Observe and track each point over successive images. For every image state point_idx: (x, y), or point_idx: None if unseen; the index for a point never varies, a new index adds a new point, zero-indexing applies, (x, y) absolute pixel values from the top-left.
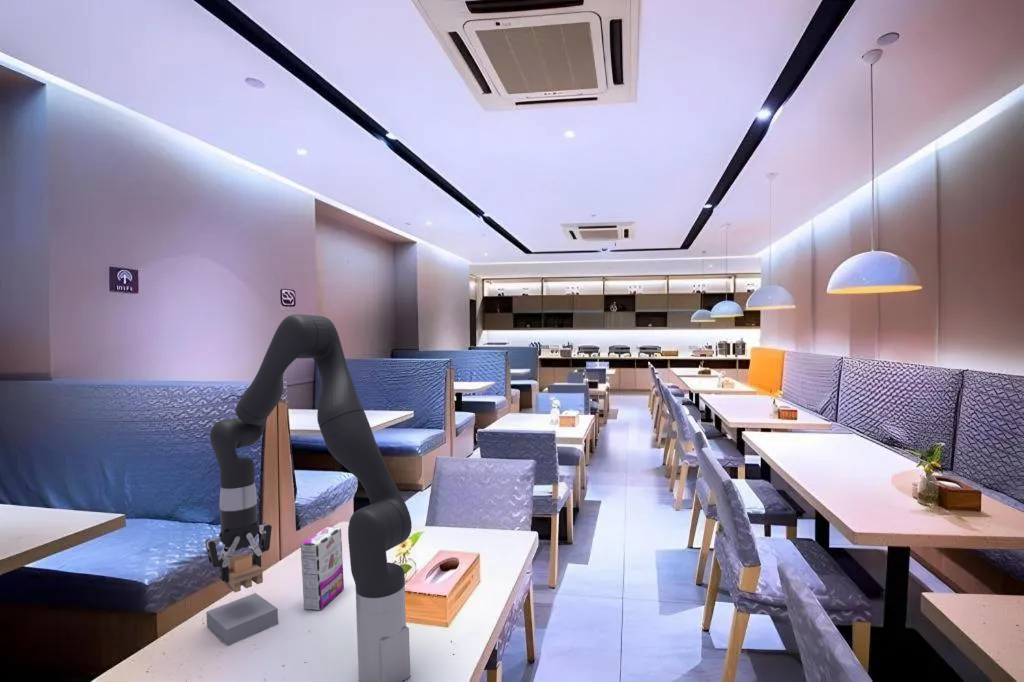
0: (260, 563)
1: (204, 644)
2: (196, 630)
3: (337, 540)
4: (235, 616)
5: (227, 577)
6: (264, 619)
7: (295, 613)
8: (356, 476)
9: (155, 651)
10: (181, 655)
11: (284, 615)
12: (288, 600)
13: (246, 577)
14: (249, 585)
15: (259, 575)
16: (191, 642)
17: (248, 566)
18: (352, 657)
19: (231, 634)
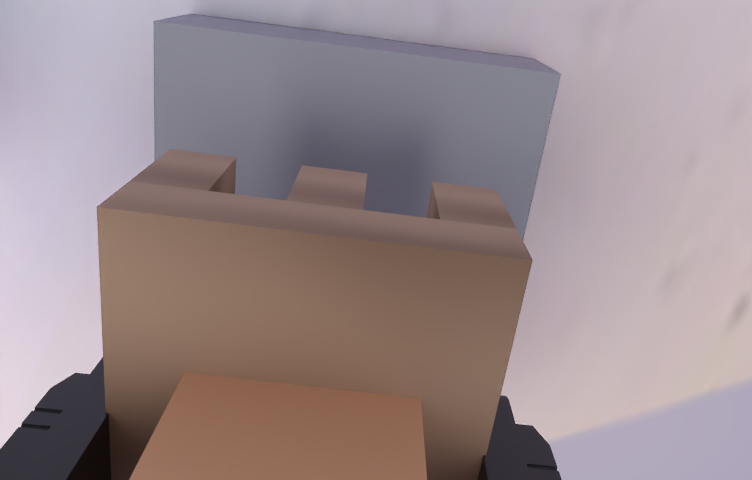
0: (39, 415)
1: (587, 204)
2: (518, 383)
3: None
4: (414, 205)
5: (495, 427)
6: (274, 33)
7: (43, 35)
8: None
9: (745, 364)
10: (718, 206)
11: (110, 82)
12: (6, 243)
13: (357, 218)
14: (328, 176)
15: (178, 181)
16: (607, 289)
17: (230, 400)
18: None
19: (516, 63)
